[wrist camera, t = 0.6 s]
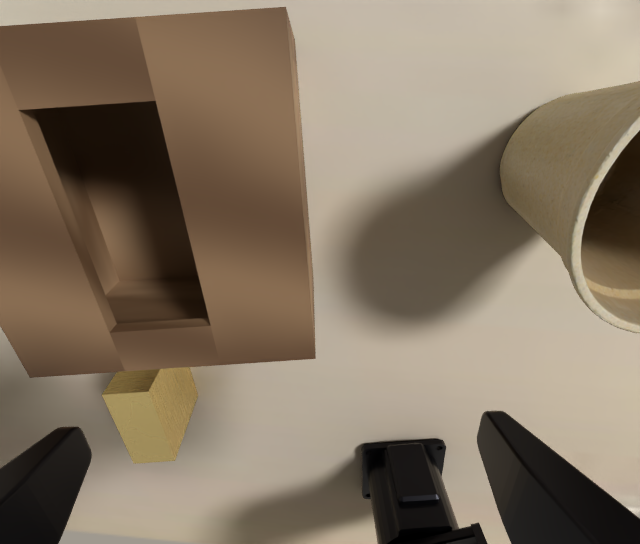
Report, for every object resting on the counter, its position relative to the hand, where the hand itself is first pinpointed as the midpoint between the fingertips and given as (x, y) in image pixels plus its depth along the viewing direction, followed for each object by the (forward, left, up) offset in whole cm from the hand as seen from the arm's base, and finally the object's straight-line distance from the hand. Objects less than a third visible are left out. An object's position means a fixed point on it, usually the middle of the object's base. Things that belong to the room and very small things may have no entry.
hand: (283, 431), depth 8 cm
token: (-9, +9, -13) cm, 19 cm away
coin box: (+3, +5, -13) cm, 14 cm away
